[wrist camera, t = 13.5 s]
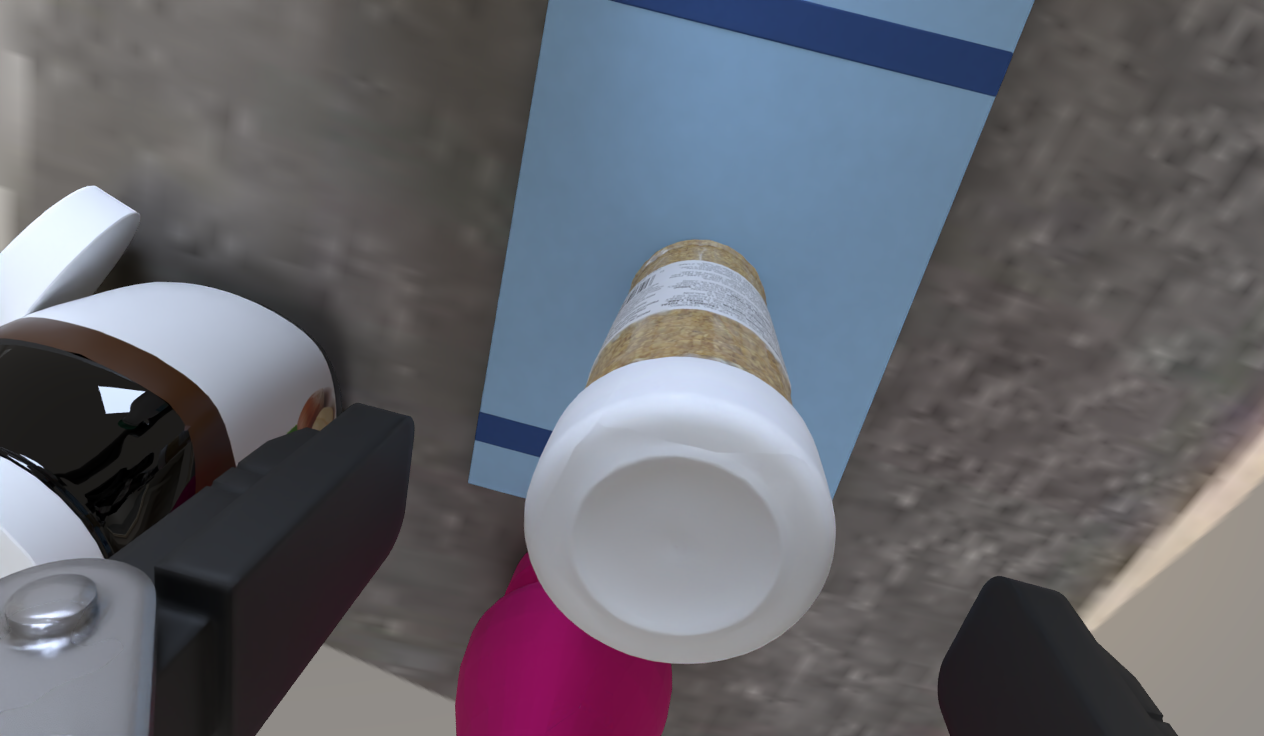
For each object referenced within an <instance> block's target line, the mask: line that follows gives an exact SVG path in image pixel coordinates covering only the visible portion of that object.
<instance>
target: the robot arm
mask: <svg viewBox="0 0 1264 736" xmlns="http://www.w3.org/2000/svg"><path fill="white" fill-rule="evenodd" d="M413 440H414V422H413V419H412V418H411V417H410V416H406V415H402V414H398V413H395V412H391V411H387V410H383V409H380V408H376V407H372V406H368V405H365V404H361V403H355V404H353V405H351V406H350V407H349V408H348V409H346V410H345V411H344V412H343V413H341V414H340V415H339V416H338V417H336V418H335V419H334V420H333V421H332V422H330V423H329V424H328V425H327V426H325V427H324V428H323V429H322V430H320V431H319V430H315V429H311V428H308V427H305V428H303V429H300V430H297V431H294V432H291V433H289V434H286V435H283V436H280V437H277V438H275V439H272V440H269V441H267V442H265V443H264V444H263V445H261V446H260V447H259V448H257V449H256V450H255V451H253V452H252V453H250V454H249V455H248V456H246V457H245V458H244V459H242V460H241V461H240V462H238V465H237V467H236V468H234V467H232V468H230V469H229V470H227V471H226V472H225V473H223V474H222V475H221V476H219V477H218V478H217V479H215V480H214V481H213V484H212V486H211V487H209V486H206V487H204V488H203V489H202V490H200V491H199V492H198V493H196V494H195V495H194V496H192V497H191V498H190V499H188V500H187V501H186V502H184V503H183V504H182V505H180V506H179V507H177V508H176V509H175V510H173V511H172V512H171V513H169V514H168V515H167V516H165V517H164V518H163V519H161V520H160V521H159V522H157V523H156V524H154V525H153V526H152V527H150V528H149V529H148V530H146V531H145V532H144V533H142V534H141V535H140V536H138V537H137V538H136V539H134V540H133V541H131V542H130V543H129V544H127V545H126V546H125V547H123V548H122V549H121V550H119V551H118V552H117V553H115V554H114V555H113V556H111V557H110V558H109V559H101V558H78V559H67V560H61V561H55V562H49V563H45V564H41V565H37V566H33V567H30V568H27V569H24V570H21V571H18V572H15V573H12V574H10V575H8V576H5V577H3V578H1V579H0V736H255V735H256V734H257V733H258V731H259V730H260V728H261V727H262V726H263V724H264V723H265V721H266V720H267V719H268V717H269V716H270V715H271V714H272V712H273V711H274V709H275V708H276V707H277V705H278V704H279V703H280V701H281V700H282V699H283V697H284V696H285V695H286V693H287V692H288V690H289V689H290V688H291V686H292V685H293V684H294V682H295V681H296V680H297V678H298V677H299V675H300V674H301V673H302V672H303V670H304V669H305V667H306V666H307V665H308V663H309V662H310V661H311V659H312V658H313V656H314V655H315V654H316V653H317V651H318V650H319V648H320V647H321V646H322V644H323V643H324V642H325V640H326V639H327V638H328V636H329V635H330V634H331V632H332V631H333V630H334V628H335V627H336V625H337V624H338V623H339V621H340V620H341V619H342V617H343V616H344V615H345V613H346V612H347V611H348V609H349V608H350V606H351V605H352V604H353V602H354V601H355V600H356V598H357V597H358V596H359V594H360V593H361V592H362V590H363V589H364V588H365V586H366V585H367V583H368V582H369V581H370V579H371V578H372V577H373V575H374V574H375V573H376V571H377V570H378V569H379V567H380V566H381V564H382V563H383V562H384V560H385V559H386V558H387V556H388V555H389V553H390V551H391V550H392V548H393V546H394V544H395V542H396V539H397V537H398V534H399V532H400V529H401V526H402V522H403V518H404V513H405V507H406V498H407V490H408V482H409V474H410V465H411V457H412V449H413ZM938 700H939V705H940V709H941V712H942V715H943V718H944V720H945V723H946V726H947V729H948V731H949V734H950V736H1178V735H1177V734H1176V732H1175V731H1174V730H1173V728H1172V727H1171V726H1170V724H1168V723H1165V722H1163V720H1162V718H1163V715H1162V713H1161V712H1160V711H1159V709H1158V708H1157V706H1156V705H1155V704H1154V702H1153V701H1152V700H1151V698H1150V697H1149V696H1148V694H1147V693H1146V691H1145V690H1144V689H1143V687H1142V686H1141V684H1140V683H1139V682H1138V680H1137V679H1136V678H1135V677H1134V676H1133V675H1132V674H1131V673H1130V672H1129V671H1128V670H1127V669H1125V667H1123V666H1122V665H1121V664H1120V663H1119V662H1118V661H1117V660H1116V659H1115V658H1114V657H1113V656H1112V655H1110V654H1109V653H1108V652H1107V651H1106V650H1105V649H1104V648H1103V647H1102V646H1101V645H1100V644H1098V643H1097V641H1096V640H1095V638H1094V637H1093V635H1092V634H1091V633H1090V631H1089V630H1088V628H1087V627H1086V626H1085V624H1084V623H1083V621H1082V620H1081V618H1080V617H1079V616H1078V614H1077V613H1076V611H1075V610H1074V609H1073V607H1072V606H1071V604H1070V603H1069V601H1068V600H1067V599H1066V598H1065V597H1064V596H1063V595H1062V594H1061V593H1059V592H1057V591H1055V590H1051V589H1047V588H1043V587H1040V586H1036V585H1032V584H1028V583H1025V582H1021V581H1017V580H1013V579H1010V578H1006V577H1002V576H996V577H993V578H991V579H990V580H989V581H987V583H986V584H985V585H984V586H983V588H982V590H981V591H980V593H979V595H978V597H977V599H976V600H975V602H974V604H973V606H972V608H971V610H970V611H969V613H968V615H967V617H966V619H965V621H964V623H963V624H962V626H961V628H960V630H959V632H958V634H957V635H956V637H955V639H954V641H953V643H952V645H951V646H950V648H949V650H948V652H947V654H946V656H945V658H944V660H943V662H942V665H941V668H940V672H939V678H938Z"/></svg>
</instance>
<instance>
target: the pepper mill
mask: <svg viewBox="0 0 1264 736" xmlns="http://www.w3.org/2000/svg"><path fill="white" fill-rule="evenodd" d="M671 692H672V669H671V663H664V662H656V661H651V660H646V659H642V658H639V657H635V656H631V655H628V654H626V653H623V652H621V651H618V650H616V649H614V648H612V647H610V646H608V645H606V644H604V643H602V642H600V641H598V640H597V639H595V638H593V637H591V636H590V635H589V634H587V633H586V632H584V631H583V630H582V629H580V628H579V627H578V626H576V625H575V624H574V623H573V622H572V621H570V620H569V619H568V618H567V617H566V616H565V615H564V614H563V613H562V612H561V611H560V610H559V609H558V607H557V606H556V605H555V604H554V603H553V601H552V600H551V599H550V597H549V596H548V595H547V593H546V592H545V590H544V589H543V587H542V585H541V583H540V582H539V580H538V578H537V575H536V573H535V571H534V569H533V566H532V564H531V561H530V558H529V554H528V552H527V553H526V554H525V555H524V556H523V558H522V559H521V561H520V562H519V564H518V565H517V567H516V570H515V572H514V574H513V577H512V579H511V581H510V583H509V586H508V588H507V590H506V593H505V595H504V597H502V598H500V599H499V600H498V601H497V602H496V603H495V604H494V605H493V606H492V607H491V608H489V609H488V610H487V611H486V612H485V613H484V615H483V616H482V617H481V619H480V620H479V622H478V623H477V625H476V627H475V628H474V630H473V632H472V635H471V637H470V640H469V643H468V646H467V649H466V652H465V655H464V657H463V660H462V663H461V666H460V671H459V678H458V686H457V694H456V703H455V711H456V733H457V734H456V735H457V736H661V734H662V732H663V729H664V726H665V723H666V719H667V715H668V709H669V704H670V698H671Z"/></svg>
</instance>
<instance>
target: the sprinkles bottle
mask: <svg viewBox="0 0 1264 736" xmlns="http://www.w3.org/2000/svg"><path fill="white" fill-rule="evenodd" d="M524 533H525V541H526V545H527V549H528V554H529V558H530V561H531V564H532V566H533V569H534V571H535V573H536V575H537V578H538V580H539V582H540V583H541V585H542V587H543V589H544V590H545V592H546V593H547V595H548V596H549V597H550V599H551V600H552V601H553V603H554V604H555V605H556V606H557V607H558V609H559V610H560V611H561V612H562V613H563V614H564V615H565V616H566V617H567V618H568V619H569V620H570V621H572V622H573V623H574V624H575V625H576V626H578V627H579V628H580V629H582V630H583V631H584V632H586V633H587V634H589V635H590V636H591V637H593V638H595V639H597V640H598V641H600V642H602V643H604V644H606V645H608V646H610V647H612V648H614V649H616V650H618V651H621V652H623V653H626V654H628V655H631V656H635V657H639V658H642V659H646V660H651V661H656V662H664V663H676V664H697V663H708V662H715V661H722V660H726V659H730V658H733V657H737V656H741V655H744V654H747V653H749V652H752V651H754V650H757V649H759V648H761V647H763V646H764V645H766V644H768V643H769V642H771V641H773V640H774V639H776V638H778V637H780V636H781V635H782V634H783V633H785V632H786V631H787V630H788V629H790V628H791V627H792V626H793V625H794V624H796V623H797V622H798V621H799V620H800V619H801V617H802V616H803V615H804V614H805V613H806V612H807V611H808V610H809V608H810V607H811V606H812V604H813V603H814V601H815V600H816V598H817V597H818V595H819V593H820V592H821V590H822V588H823V586H824V584H825V582H826V580H827V577H828V574H829V571H830V568H831V564H832V560H833V556H834V549H835V540H836V522H835V514H834V509H833V504H832V499H831V495H830V491H829V487H828V483H827V480H826V476H825V473H824V470H823V466H822V463H821V460H820V456H819V453H818V450H817V447H816V445H815V442H814V439H813V437H812V435H811V433H810V432H809V430H808V428H807V426H806V424H805V422H804V420H803V419H802V417H801V416H800V415H799V413H798V412H797V411H796V409H795V408H794V407H793V404H792V400H791V384H790V380H789V377H788V373H787V370H786V367H785V363H784V360H783V357H782V354H781V350H780V347H779V343H778V340H777V336H776V333H775V329H774V326H773V323H772V320H771V317H770V313H769V311H768V309H767V303H766V295H765V291H764V287H763V285H762V283H761V281H760V278H759V275H758V273H757V271H756V269H755V268H754V267H753V266H752V265H751V264H750V263H749V262H748V261H747V260H746V259H745V258H744V257H743V256H742V255H741V254H740V253H738V252H737V251H735V250H734V249H732V248H731V247H729V246H727V245H724V244H721V243H718V242H715V241H712V240H698V239H693V240H685V241H680V242H677V243H674V244H671V245H669V246H666V247H664V248H662V249H661V250H659V251H657V252H656V253H655V254H653V255H652V256H651V258H650V259H649V260H647V261H646V262H645V263H644V264H643V266H642V267H641V269H640V270H639V271H638V272H637V273H636V275H635V277H634V279H633V281H632V284H631V288H630V290H629V293H628V296H627V297H626V299H625V301H624V303H623V305H622V306H621V308H620V310H619V312H618V315H617V317H616V319H615V321H614V323H613V325H612V327H611V329H610V331H609V333H608V335H607V337H606V339H605V341H604V343H603V345H602V347H601V349H600V351H599V353H598V355H597V357H596V359H595V361H594V364H593V366H592V368H591V371H590V373H589V377H588V381H587V384H586V387H585V389H584V390H583V391H582V392H580V393H579V394H578V396H577V397H576V398H575V399H574V400H573V401H572V402H571V403H570V404H569V405H568V407H567V408H566V410H565V411H564V412H563V414H562V415H561V417H560V418H559V420H558V422H557V424H556V426H555V428H554V430H553V432H552V434H551V436H550V438H549V440H548V442H547V444H546V446H545V448H544V450H543V452H542V454H541V457H540V459H539V461H538V464H537V466H536V469H535V471H534V474H533V476H532V479H531V482H530V485H529V489H528V492H527V496H526V502H525V513H524Z"/></svg>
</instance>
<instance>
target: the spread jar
mask: <svg viewBox="0 0 1264 736" xmlns="http://www.w3.org/2000/svg"><path fill="white" fill-rule="evenodd" d="M139 223H140V214H139V213H138V212H136V211H134V210H133V209H131V208H130V207H128V206H126V205H125V204H123V203H122V202H120V201H119V200H117V199H115V198H114V197H112V196H111V195H109V194H107V193H106V192H104V191H103V190H101V189H99V188H98V187H96V186H87V187H84V188H81V189H79V190H77V191H75V192H73V193H71V194H70V195H68V196H66V197H64V198H63V199H62V200H60V201H59V202H57V203H56V204H55V205H53V206H52V207H51V208H49V209H48V210H47V211H45V212H44V213H43V214H42V215H41V216H39V217H38V218H37V219H36V220H35V221H33V222H32V223H31V224H30V225H29V226H28V227H27V228H26V229H25V230H24V231H23V232H21V233H20V234H19V235H18V236H17V237H16V238H15V239H14V240H13V241H12V242H11V243H10V244H9V245H8V246H7V247H6V248H5V249H4V250H3V251H2V252H1V253H0V579H1V578H3V577H5V576H8V575H10V574H12V573H15V572H18V571H21V570H24V569H27V568H30V567H33V566H37V565H41V564H45V563H49V562H55V561H61V560H67V559H78V558H101V559H109V558H110V557H111V556H113V555H114V554H115V553H117V552H118V551H119V550H121V549H122V548H123V547H125V546H126V545H127V544H129V543H130V542H131V541H133V540H134V539H136V538H137V537H138V536H140V535H141V534H142V533H144V532H145V531H146V530H148V529H149V528H150V527H152V526H153V525H154V524H156V523H157V522H159V521H160V520H161V519H163V518H164V517H165V516H167V515H168V514H169V513H171V512H172V511H173V510H175V509H176V508H177V507H179V506H180V505H182V504H183V503H184V502H186V501H187V500H188V499H190V498H191V497H192V496H194V495H195V494H196V493H198V492H199V491H200V490H202V489H203V488H204V487H206V486H209V487H211V486H212V484H213V481H214V480H215V479H217V478H218V477H219V476H221V475H222V474H223V473H225V472H226V471H227V470H229V469H230V468H232V467H234V468H236V467H237V465H238V462H240V461H241V460H242V459H244V458H245V457H246V456H248V455H249V454H250V453H252V452H253V451H255V450H256V449H257V448H259V447H260V446H261V445H263V444H264V443H265V442H267V441H269V440H272V439H275V438H277V437H280V436H283V435H286V434H289V433H291V432H294V431H297V430H300V429H303V428H305V427H308V428H311V429H315V430H319V431H320V430H322V429H323V428H324V427H325V426H327V425H328V424H329V423H330V422H332V421H333V420H334V419H335V418H336V417H338V416H339V415H340V414H341V413H342V400H341V392H340V387H339V383H338V379H337V376H336V373H335V371H334V368H333V366H332V364H331V362H330V360H329V358H328V356H327V354H326V353H325V351H324V350H323V348H322V347H321V346H320V345H319V343H318V342H317V341H316V340H315V339H314V338H313V337H312V336H311V335H310V334H309V333H307V332H306V331H305V330H304V329H302V328H301V327H300V326H298V325H297V324H295V323H294V322H292V321H291V320H289V319H288V318H286V317H285V316H283V315H281V314H280V313H278V312H276V311H274V310H272V309H270V308H268V307H266V306H264V305H262V304H260V303H258V302H255V301H253V300H250V299H248V298H245V297H242V296H239V295H236V294H232V293H229V292H226V291H222V290H219V289H215V288H211V287H207V286H202V285H196V284H189V283H178V282H151V283H144V284H136V285H131V286H126V287H122V288H118V289H113V290H109V291H105V292H102V293H98V294H95V295H92V294H93V293H94V292H95V291H96V290H97V288H98V287H99V286H100V285H101V283H102V282H103V281H104V280H105V278H106V277H107V276H108V274H109V273H110V272H111V270H112V269H113V268H114V266H115V265H116V263H117V262H118V261H119V259H120V258H121V256H122V255H123V253H124V252H125V250H126V249H127V247H128V245H129V244H130V242H131V240H132V239H133V237H134V235H135V233H136V231H137V229H138V226H139Z"/></svg>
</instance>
